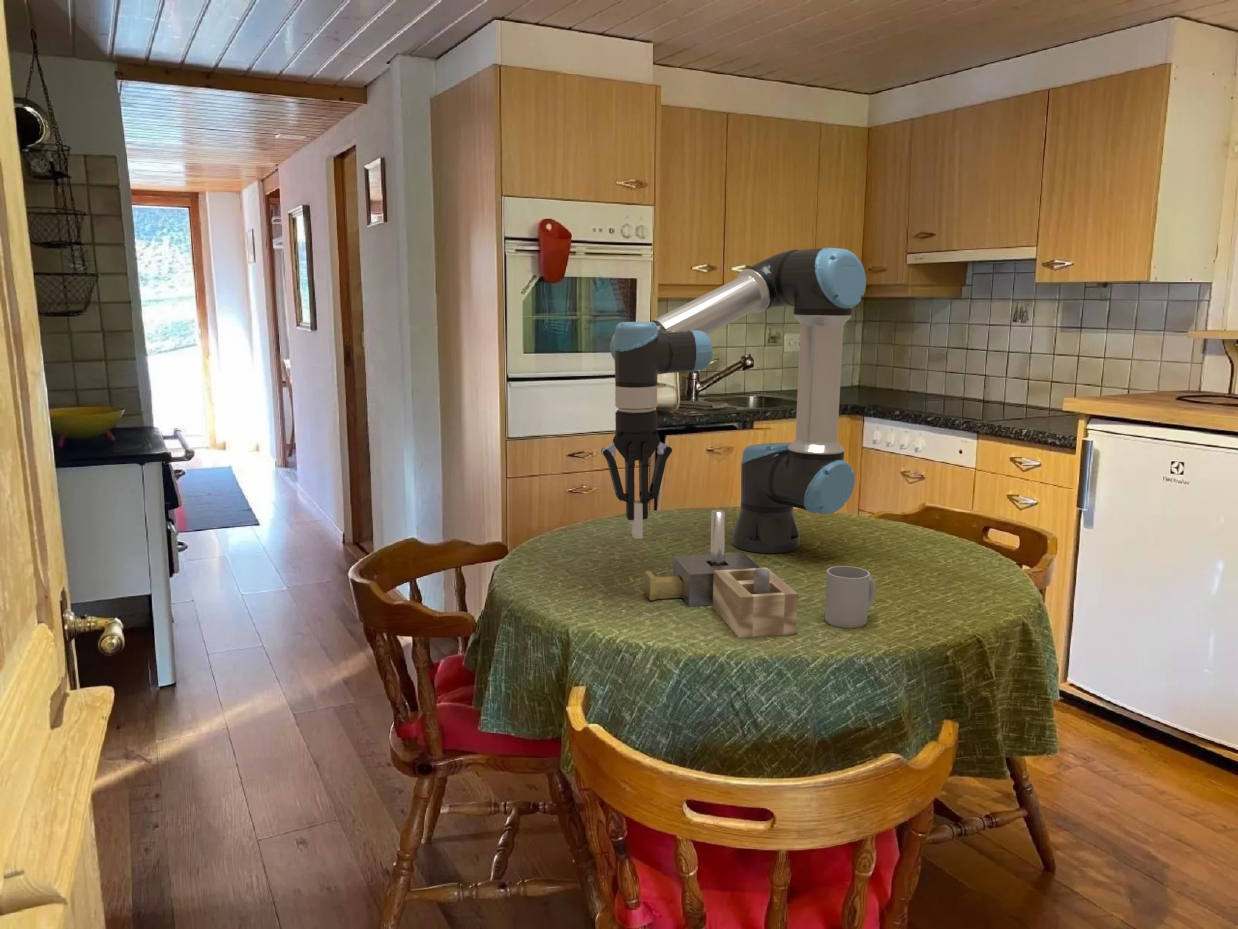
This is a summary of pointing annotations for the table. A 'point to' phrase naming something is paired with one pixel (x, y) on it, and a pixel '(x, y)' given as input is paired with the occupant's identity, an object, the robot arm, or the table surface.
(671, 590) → the brass square peg
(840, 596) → the cup
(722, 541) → the round-ended peg
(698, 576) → the socket block
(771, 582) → the rack
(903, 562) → the table surface
